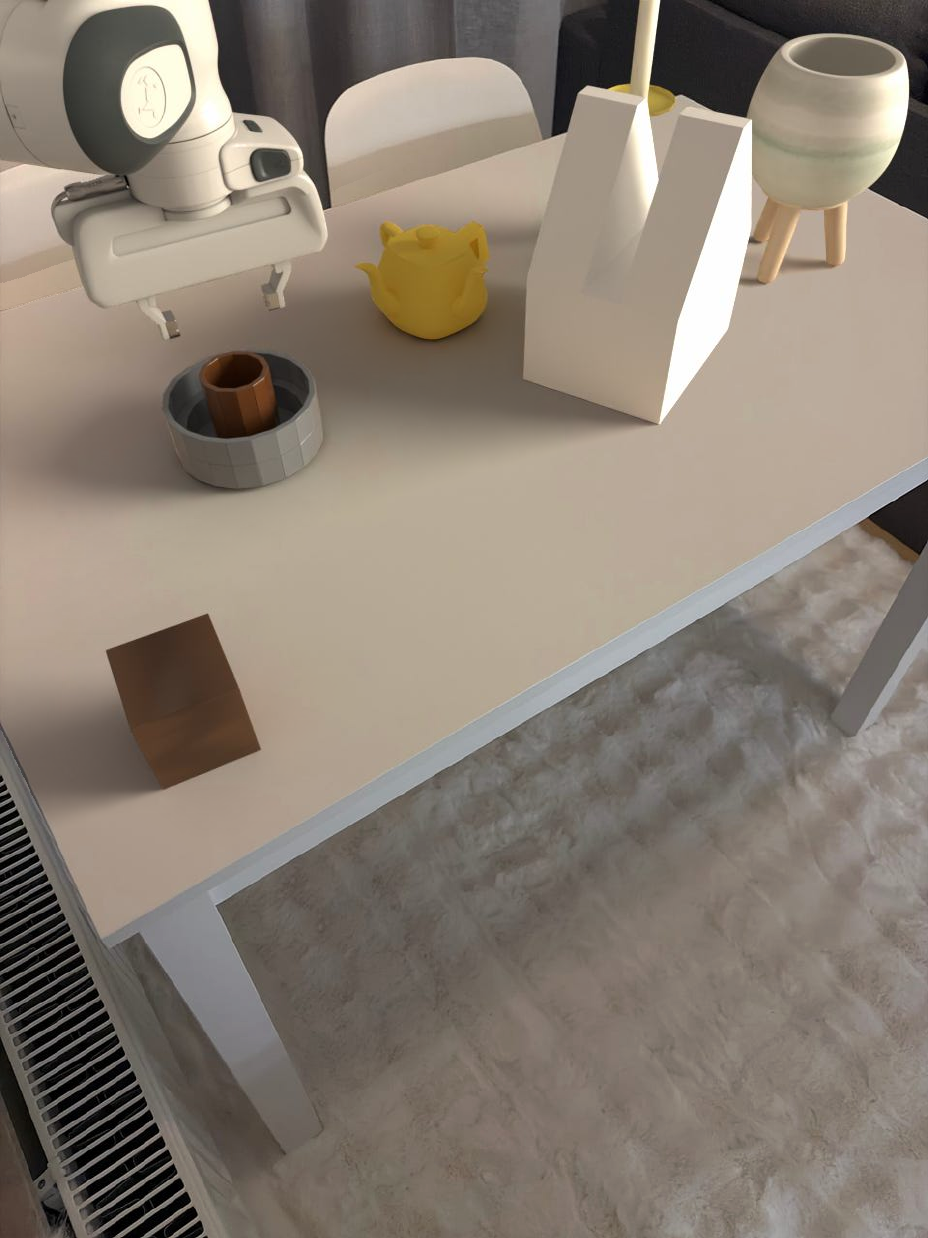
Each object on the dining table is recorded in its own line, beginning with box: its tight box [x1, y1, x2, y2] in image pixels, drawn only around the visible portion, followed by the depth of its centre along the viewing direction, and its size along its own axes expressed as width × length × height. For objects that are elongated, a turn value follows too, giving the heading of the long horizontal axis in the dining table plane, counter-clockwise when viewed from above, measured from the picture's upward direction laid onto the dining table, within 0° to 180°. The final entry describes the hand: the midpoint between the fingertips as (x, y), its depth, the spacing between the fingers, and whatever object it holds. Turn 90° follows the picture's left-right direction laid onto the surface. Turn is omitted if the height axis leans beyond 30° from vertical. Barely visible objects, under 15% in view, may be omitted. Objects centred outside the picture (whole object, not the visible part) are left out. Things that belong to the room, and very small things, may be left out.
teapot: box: [354, 220, 491, 340], centre depth 100 cm, size 14×13×10 cm
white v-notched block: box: [522, 85, 752, 425], centre depth 89 cm, size 19×15×25 cm
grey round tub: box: [161, 348, 324, 490], centre depth 88 cm, size 14×14×6 cm
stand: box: [105, 613, 262, 790], centre depth 66 cm, size 7×7×8 cm
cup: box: [199, 350, 281, 439], centre depth 87 cm, size 6×6×8 cm
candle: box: [607, 0, 676, 118], centre depth 103 cm, size 10×10×32 cm
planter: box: [745, 33, 910, 284], centre depth 101 cm, size 16×16×22 cm
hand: (223, 320), depth 80 cm, fingers open, 8 cm apart
